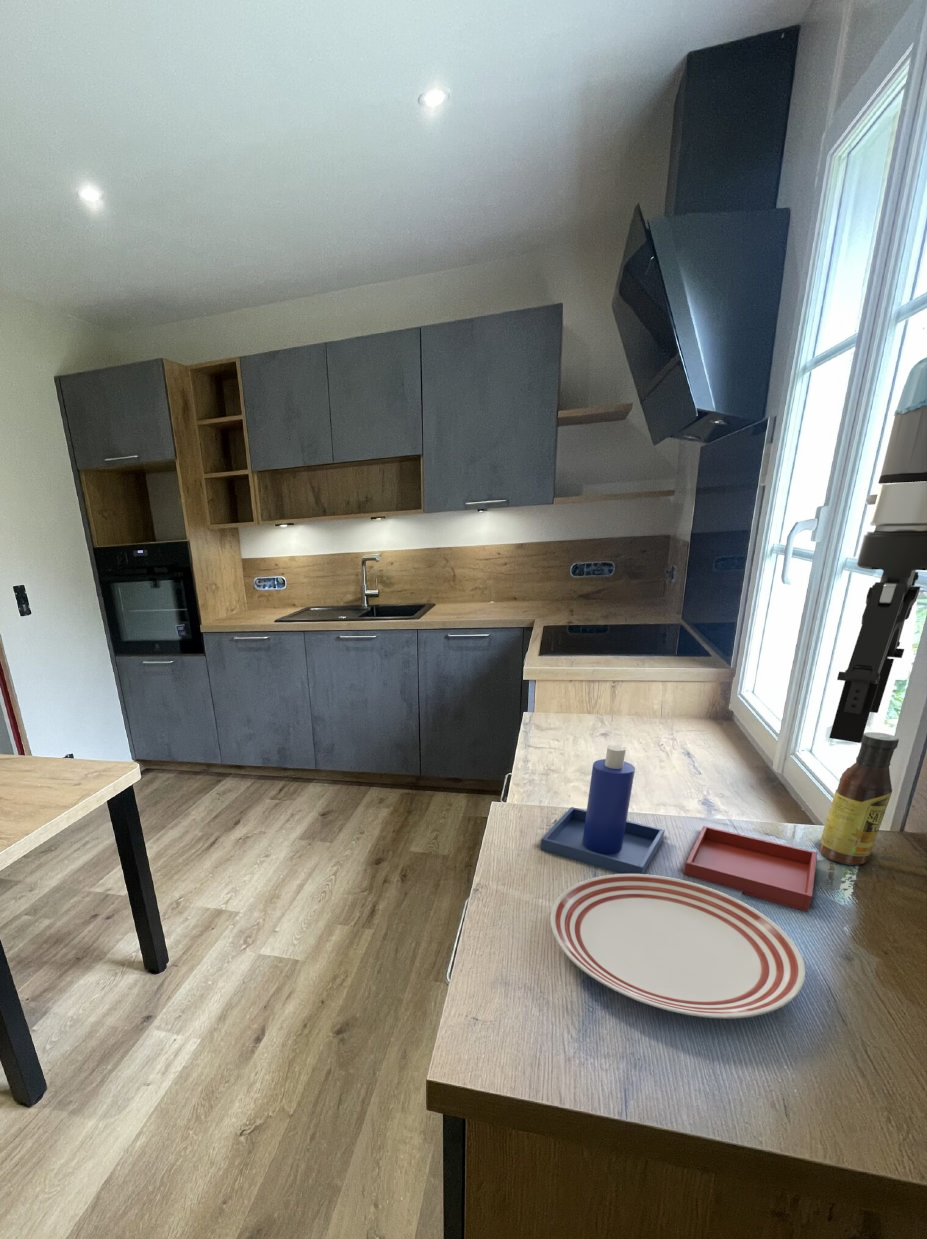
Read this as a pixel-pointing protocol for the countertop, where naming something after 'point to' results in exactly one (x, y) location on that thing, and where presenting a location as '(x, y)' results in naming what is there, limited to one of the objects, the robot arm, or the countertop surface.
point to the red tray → (754, 867)
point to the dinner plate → (677, 946)
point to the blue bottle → (608, 802)
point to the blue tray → (629, 860)
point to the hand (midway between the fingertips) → (854, 724)
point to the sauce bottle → (860, 802)
